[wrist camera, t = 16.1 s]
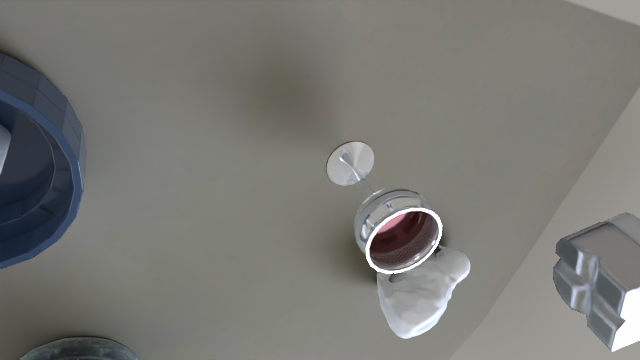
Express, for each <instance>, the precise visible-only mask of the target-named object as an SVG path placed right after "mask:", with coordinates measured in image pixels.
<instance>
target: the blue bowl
mask: <svg viewBox="0 0 640 360" xmlns="http://www.w3.org/2000/svg"><path fill="white" fill-rule="evenodd" d="M0 124H1V125H2V126H3V127H5V128H6V129H7V130H8V131H9V132H10V133H11V141H10V144H9V148H8V151H7V154H6V158H5V161H4V164H3V168H2V171H1V174H0V269H3V268H6V267H8V266H11V265H14V264H17V263H20V262H22V261H25V260H28V259H31V258H33V257H35V256H36V255H38V254H39V253H41V252H42V251H44V250H45V249H46V248H48V247H49V246H51V245H52V244H54V243H55V242H57V241H58V240H59V239H60V238H61V237H62V235H63V234H64V233H65V231H66V230H67V229H68V227H69V226H70V225H71V223H72V222H73V221H74V219H75V218H76V216H77V213H78V209H79V205H80V201H81V198H82V194H83V188H84V173H85V157H86V150H85V143H84V136H83V130H82V126H81V123H80V121H79V119H78V118H77V116H76V114H75V112H74V110H73V109H72V107H71V105H70V103H69V101H68V100H67V98H66V97H65V96H64V95H63V94H62V93H61V92H60V91H59V90H58V89H57V88H55V87H54V86H53V85H52V84H51V83H50V82H49V81H48V80H47V79H46V78H45V77H44V76H43V75H42V74H40V73H39V72H37V71H35V70H33V69H32V68H30V67H28V66H26V65H24V64H22V63H20V62H19V61H17V60H15V59H13V58H11V57H9V56H8V55H5V54H1V53H0Z"/></svg>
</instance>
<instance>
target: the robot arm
mask: <svg viewBox="0 0 640 360" xmlns="http://www.w3.org/2000/svg"><path fill="white" fill-rule="evenodd" d="M556 254H557V255H558V256H559V257H560V259H559V261H558V262H557V264H556V265H555V266H554V270H553V280H554V283H555V286H556V289H557V291H558V293H559V294H560V296H561V297H562V299H563V300H564V301H565V302H566V304H567V305H568V306H569V307H570V308H571V309H572V310H575V311H577V312H580V313H583V314H585V315H586V318H587V326H588V327H589V328H590V329H591V330H592V331H593V332H594V334H595V335H596V336H597V337H598V338H599V339H600V340H601V341H602V342H603V343H604V344H605V345H606V346H607V347H608V348H609V349H610V350H611V351H614V350H617V349H619V348H621V347H624V346H626V345H629V344H631V343H633V342H636V341H638V340H640V219H639V218H637V217H636V216H634V215H633V214H629V213H623V214H620V215H618V216H615V217H613V218H611V219H608V220H606V221H604V222H599V223H597V224H595V225H592V226H590V227H587V228H585V229H583V230H580V231H578V232H576V233H573V234H571V235H569V236H566V237H564V238H562V239H560V241H559V242H558V243H557V245H556Z"/></svg>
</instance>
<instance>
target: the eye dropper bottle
mask: <svg viewBox="0 0 640 360" xmlns="http://www.w3.org/2000/svg"><path fill="white" fill-rule="evenodd" d="M10 141H11V133H10V132H9V131H8V130H7V129H6V128H5V127H3V126H2V125H1V124H0V174H1V171H2V168H3V164H4V161H5V158H6V154H7V151H8V148H9V144H10Z"/></svg>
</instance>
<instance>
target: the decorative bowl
mask: <svg viewBox="0 0 640 360" xmlns="http://www.w3.org/2000/svg"><path fill="white" fill-rule="evenodd" d="M19 360H138V358H137V356H136V355H135V354H133V353H132V352H131V351H130V350H129V349H128V348H127V347H125V346H123V345H121V344H119V343H116V342H114V341H111V340H107V339H101V338H89V337H82V338H65V339H60V340H57V341H53V342H50V343H48V344H45V345H43V346H40V347H38V348H35V349H33V350H31V351H30V352H28V353H27V354H25V355H24V356H23V357H22V358H20V359H19Z"/></svg>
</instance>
